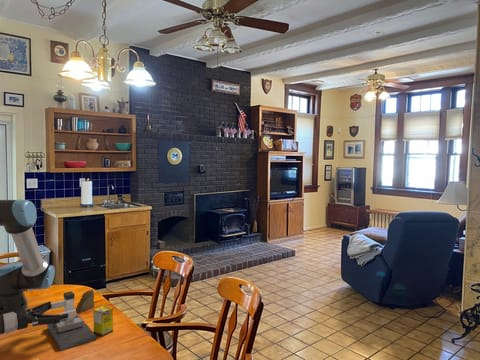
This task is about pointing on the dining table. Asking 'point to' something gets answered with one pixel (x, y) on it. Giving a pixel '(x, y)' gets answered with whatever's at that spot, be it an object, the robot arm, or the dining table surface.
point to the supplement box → (103, 320)
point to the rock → (86, 301)
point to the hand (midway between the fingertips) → (71, 307)
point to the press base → (71, 335)
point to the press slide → (71, 322)
